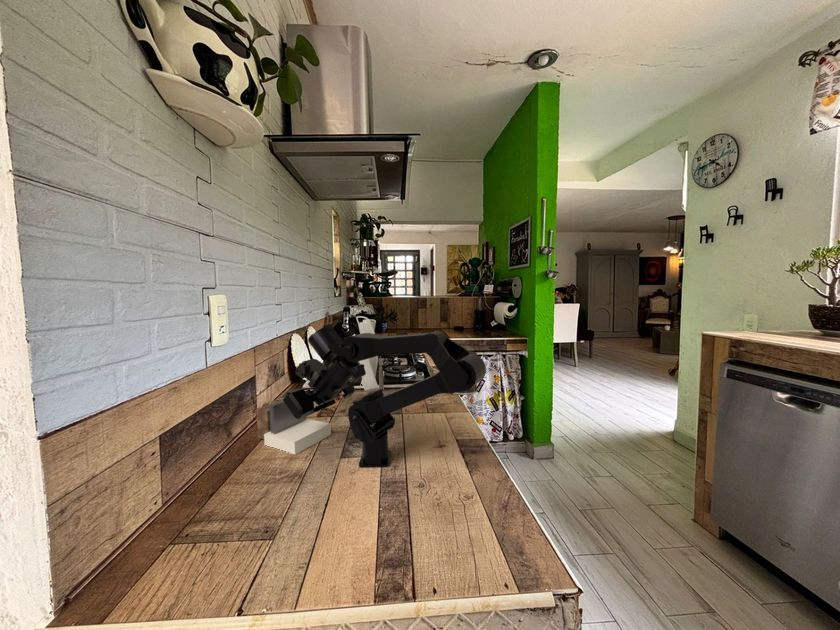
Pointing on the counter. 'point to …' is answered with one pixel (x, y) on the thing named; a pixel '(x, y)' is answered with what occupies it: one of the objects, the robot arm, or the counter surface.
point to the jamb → (263, 420)
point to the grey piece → (281, 417)
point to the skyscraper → (370, 360)
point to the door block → (298, 436)
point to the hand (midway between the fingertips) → (305, 414)
